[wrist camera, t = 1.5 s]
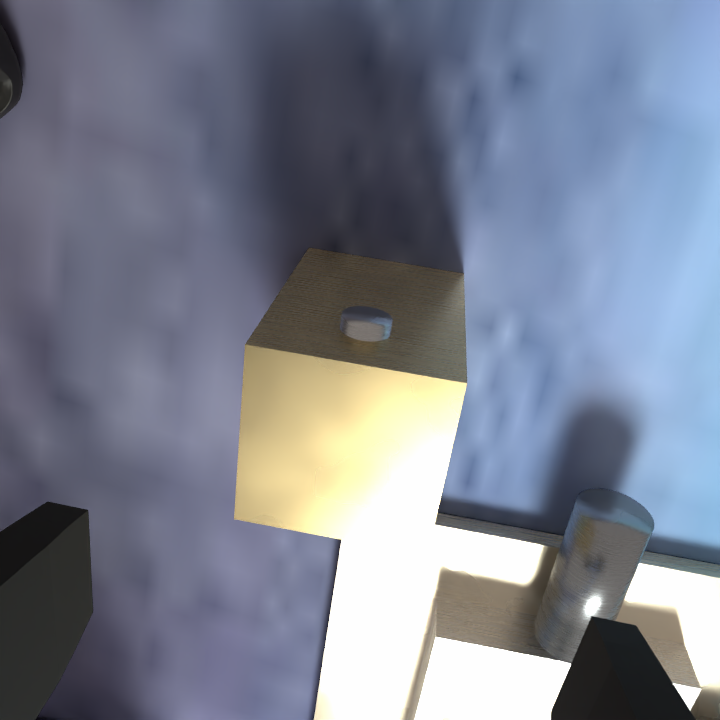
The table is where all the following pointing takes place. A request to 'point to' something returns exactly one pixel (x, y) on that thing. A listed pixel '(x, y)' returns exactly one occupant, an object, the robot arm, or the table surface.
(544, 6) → the table surface
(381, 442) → the coupling block
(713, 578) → the cream square socket base
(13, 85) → the battery charger
